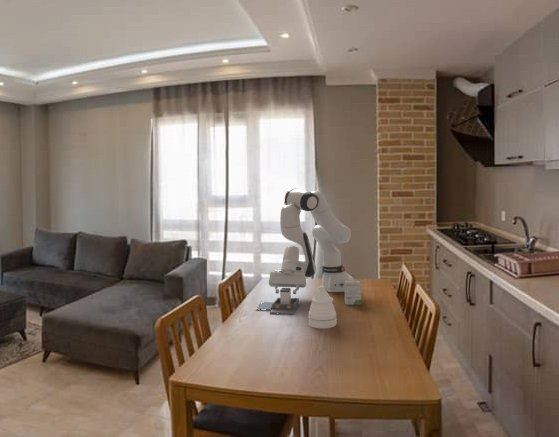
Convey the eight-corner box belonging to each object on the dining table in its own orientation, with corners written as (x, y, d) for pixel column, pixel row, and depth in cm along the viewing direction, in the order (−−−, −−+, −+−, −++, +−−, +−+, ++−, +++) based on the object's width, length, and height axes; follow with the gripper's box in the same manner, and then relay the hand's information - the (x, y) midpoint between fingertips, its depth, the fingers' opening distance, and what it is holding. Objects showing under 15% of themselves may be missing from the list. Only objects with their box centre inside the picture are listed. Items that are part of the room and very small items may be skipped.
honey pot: (335, 329, 189) (334, 289, 187) (307, 327, 191) (305, 288, 189) (337, 319, 201) (336, 282, 199) (310, 318, 204) (309, 281, 202)
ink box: (345, 304, 223) (344, 282, 222) (344, 301, 228) (344, 280, 227) (361, 304, 222) (361, 282, 221) (360, 301, 227) (360, 280, 226)
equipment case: (299, 304, 226) (298, 298, 225) (292, 314, 210) (292, 307, 209) (277, 304, 228) (277, 297, 228) (269, 313, 212) (269, 307, 212)
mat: (275, 303, 229) (275, 302, 229) (270, 310, 217) (270, 309, 217) (261, 303, 231) (261, 301, 231) (255, 310, 219) (255, 308, 219)
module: (291, 306, 223) (290, 288, 222) (289, 309, 219) (288, 290, 218) (282, 306, 224) (282, 287, 223) (280, 308, 220) (280, 290, 219)
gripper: (269, 267, 231) (265, 289, 222) (306, 268, 226) (303, 290, 217) (271, 273, 235) (267, 295, 227) (308, 274, 231) (305, 297, 222)
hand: (285, 293), depth 222 cm, fingers open, 8 cm apart
